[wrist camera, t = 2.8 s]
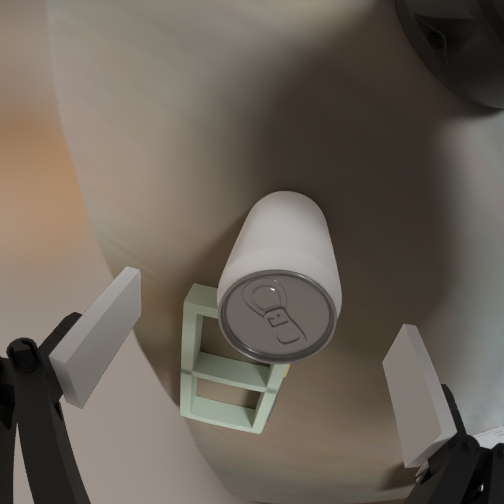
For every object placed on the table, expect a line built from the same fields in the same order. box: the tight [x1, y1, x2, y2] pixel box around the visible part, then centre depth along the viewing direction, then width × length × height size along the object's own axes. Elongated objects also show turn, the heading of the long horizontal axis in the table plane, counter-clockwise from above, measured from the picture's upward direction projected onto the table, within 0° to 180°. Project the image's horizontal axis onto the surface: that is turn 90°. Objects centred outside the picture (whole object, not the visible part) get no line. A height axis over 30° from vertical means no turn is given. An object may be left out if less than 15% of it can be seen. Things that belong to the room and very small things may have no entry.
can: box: [217, 191, 342, 364], centre depth 20 cm, size 6×6×12 cm
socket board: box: [180, 283, 290, 434], centre depth 31 cm, size 10×18×3 cm, turn 170°
